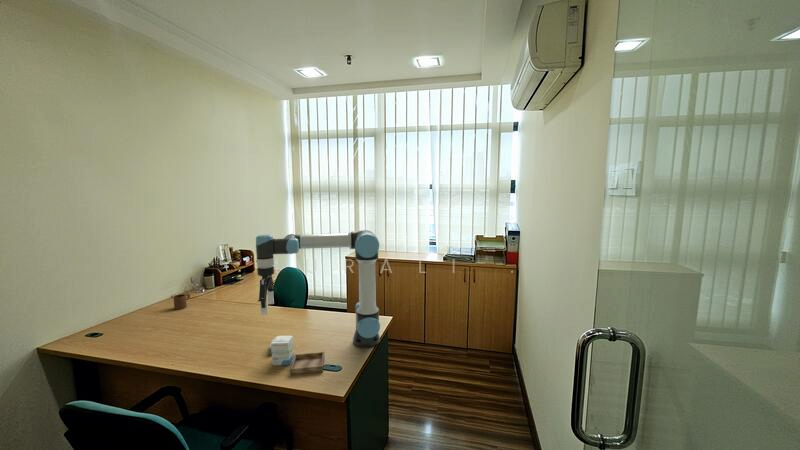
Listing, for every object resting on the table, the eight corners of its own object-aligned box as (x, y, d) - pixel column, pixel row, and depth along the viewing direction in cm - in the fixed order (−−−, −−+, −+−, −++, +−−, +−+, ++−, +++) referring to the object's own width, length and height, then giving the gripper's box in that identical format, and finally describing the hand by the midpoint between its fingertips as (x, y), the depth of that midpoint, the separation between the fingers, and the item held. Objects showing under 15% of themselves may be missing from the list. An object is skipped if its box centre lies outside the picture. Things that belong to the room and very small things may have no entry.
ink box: (294, 356, 163) (293, 334, 162) (289, 365, 155) (288, 342, 153) (277, 356, 163) (276, 335, 162) (271, 365, 154) (270, 343, 153)
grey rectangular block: (273, 345, 175) (272, 338, 174) (279, 345, 175) (279, 337, 175) (268, 354, 165) (268, 346, 165) (276, 354, 166) (275, 346, 165)
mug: (186, 303, 241) (185, 291, 240) (194, 304, 239) (193, 292, 238) (171, 309, 229) (170, 297, 228) (180, 310, 227) (179, 297, 226)
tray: (324, 357, 162) (324, 351, 162) (322, 371, 149) (322, 365, 148) (295, 359, 160) (294, 354, 159) (290, 375, 146) (290, 369, 146)
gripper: (263, 261, 164) (265, 300, 166) (249, 273, 139) (252, 319, 141) (278, 260, 165) (280, 299, 167) (267, 272, 140) (269, 318, 143)
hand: (267, 308), depth 154 cm, fingers open, 13 cm apart
